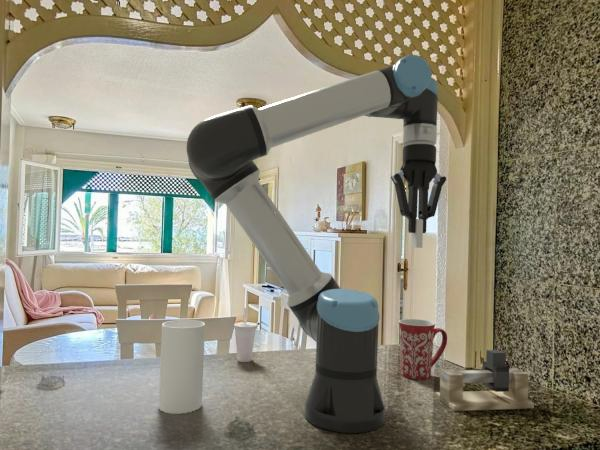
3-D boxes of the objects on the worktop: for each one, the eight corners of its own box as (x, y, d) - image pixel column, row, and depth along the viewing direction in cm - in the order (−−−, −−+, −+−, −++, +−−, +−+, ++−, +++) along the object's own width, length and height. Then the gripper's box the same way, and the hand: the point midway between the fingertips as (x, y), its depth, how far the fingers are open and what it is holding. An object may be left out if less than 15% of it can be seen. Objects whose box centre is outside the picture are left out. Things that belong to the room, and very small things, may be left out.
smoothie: (247, 355, 126) (249, 305, 127) (260, 361, 121) (262, 309, 122) (228, 359, 122) (230, 307, 123) (240, 364, 117) (242, 311, 118)
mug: (404, 381, 108) (406, 325, 109) (392, 370, 117) (393, 318, 118) (454, 381, 110) (455, 325, 110) (438, 370, 119) (439, 318, 119)
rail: (453, 410, 90) (454, 377, 90) (435, 396, 98) (436, 365, 98) (534, 408, 93) (534, 375, 93) (509, 394, 101) (510, 364, 101)
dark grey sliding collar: (495, 391, 93) (496, 354, 94) (482, 384, 98) (483, 348, 99) (508, 391, 94) (509, 354, 94) (494, 383, 99) (495, 348, 99)
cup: (198, 396, 93) (201, 319, 94) (204, 411, 86) (208, 327, 86) (157, 400, 90) (160, 320, 91) (159, 416, 83) (163, 328, 83)
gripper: (399, 140, 99) (396, 247, 99) (453, 144, 101) (451, 248, 101) (386, 147, 107) (384, 246, 106) (438, 150, 109) (435, 247, 108)
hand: (416, 247), depth 103 cm, fingers closed
